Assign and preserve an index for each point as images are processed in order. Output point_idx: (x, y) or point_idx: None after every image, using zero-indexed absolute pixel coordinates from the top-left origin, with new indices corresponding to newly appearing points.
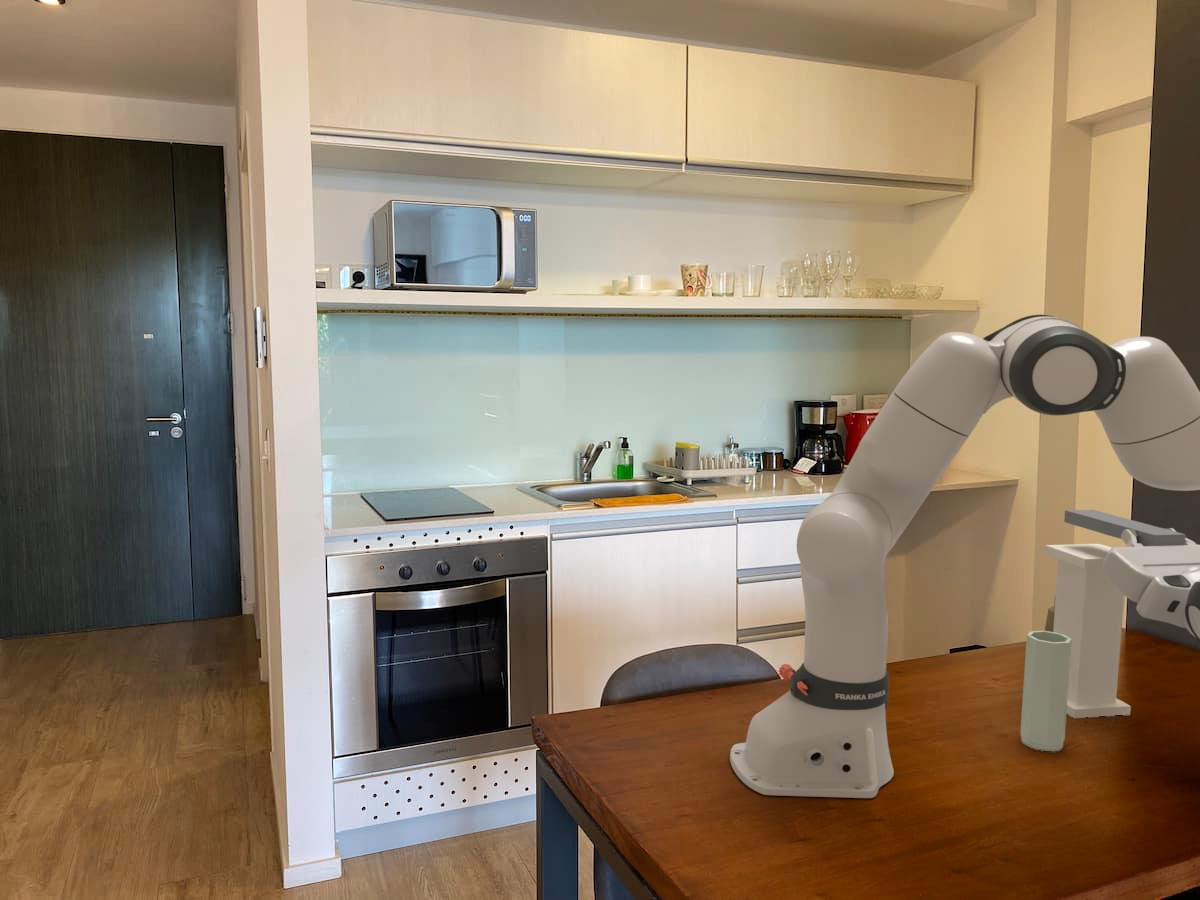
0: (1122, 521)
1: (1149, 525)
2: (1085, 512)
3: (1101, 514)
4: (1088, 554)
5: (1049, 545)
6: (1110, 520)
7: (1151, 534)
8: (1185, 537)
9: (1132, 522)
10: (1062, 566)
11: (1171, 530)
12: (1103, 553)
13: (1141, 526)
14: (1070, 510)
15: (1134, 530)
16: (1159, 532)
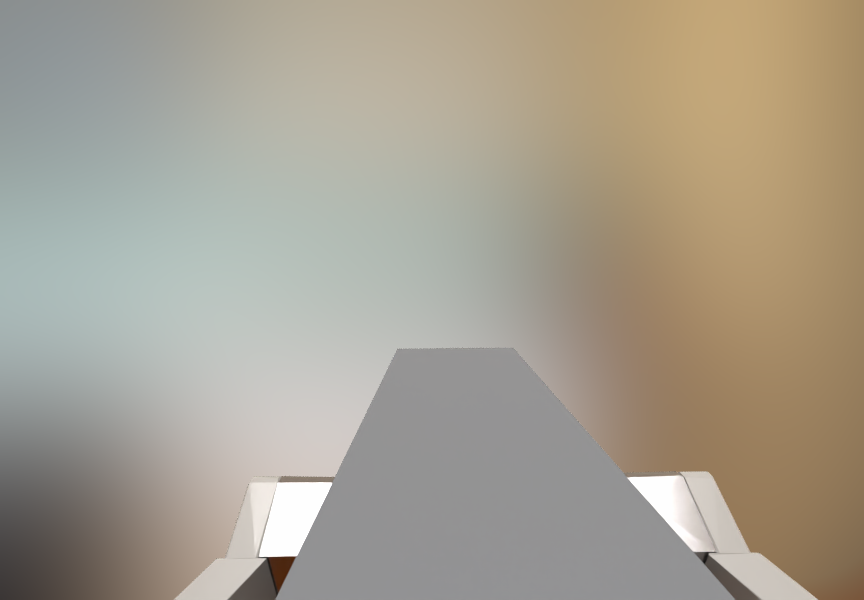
0: (472, 400)
1: (569, 435)
2: (445, 356)
3: (485, 363)
4: None
5: None
6: (423, 393)
7: (284, 588)
8: (807, 591)
9: (513, 407)
10: None
11: (684, 497)
12: None
13: (486, 443)
14: (414, 349)
15: (321, 490)
16: (465, 543)
